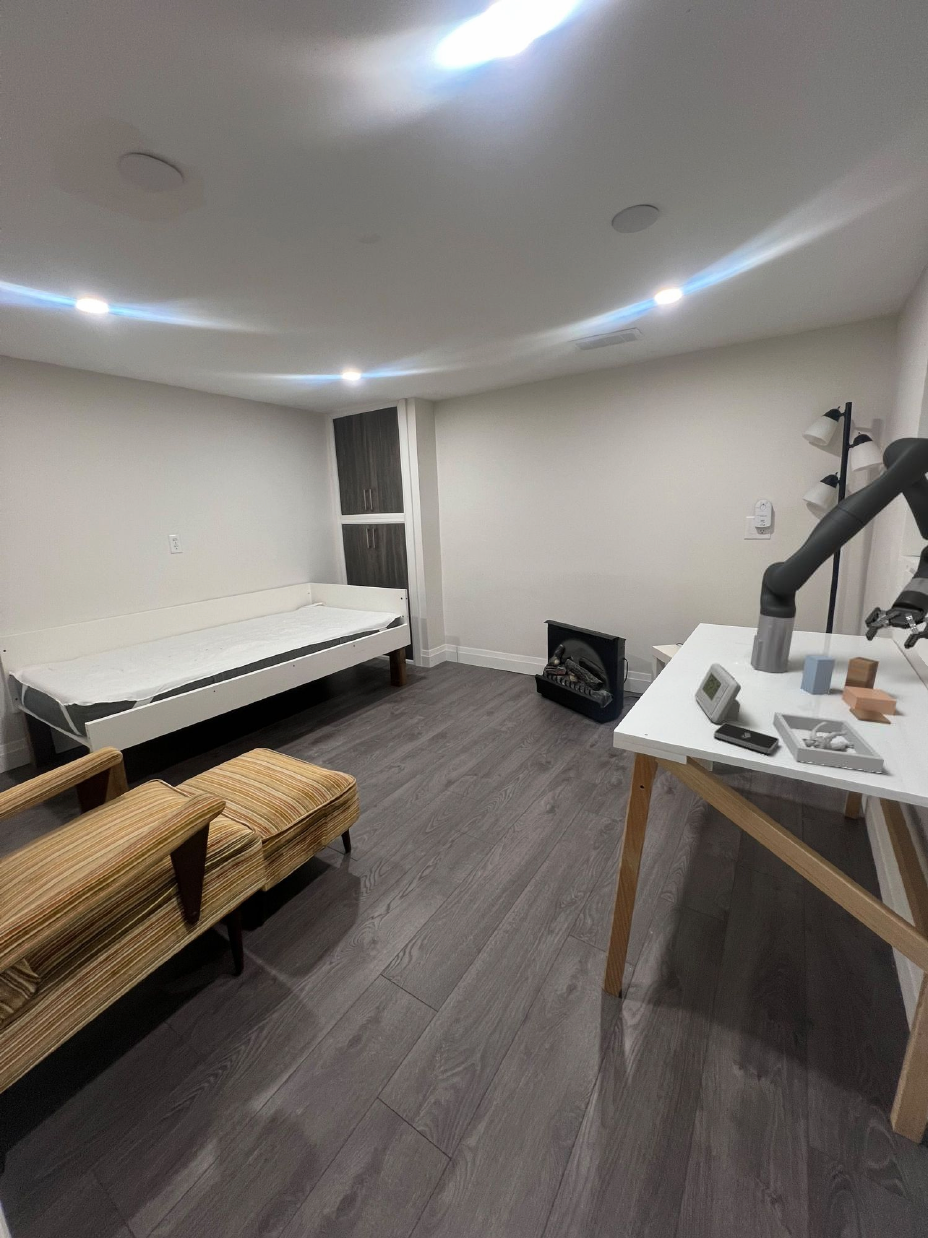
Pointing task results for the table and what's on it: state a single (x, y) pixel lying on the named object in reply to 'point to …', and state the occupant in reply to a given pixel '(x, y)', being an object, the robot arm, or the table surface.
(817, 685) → the slate pillar
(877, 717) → the walnut swatch
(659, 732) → the table surface
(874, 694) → the terracotta block
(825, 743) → the soldier figure
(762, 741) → the external hard drive
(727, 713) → the digital clock
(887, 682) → the table surface
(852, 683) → the walnut pillar
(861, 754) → the grey display tray
